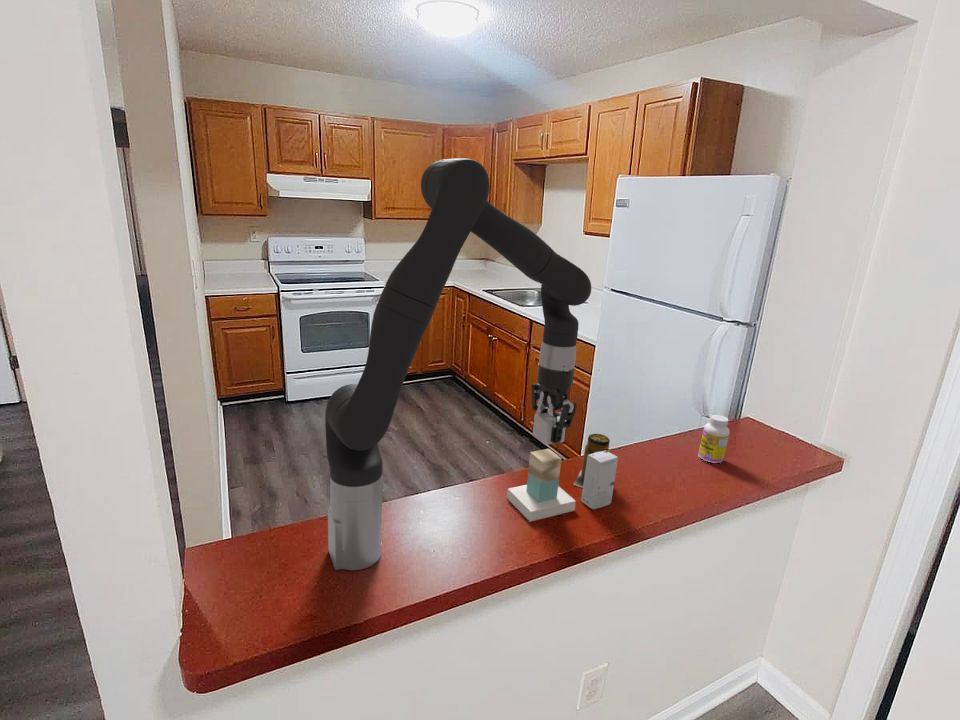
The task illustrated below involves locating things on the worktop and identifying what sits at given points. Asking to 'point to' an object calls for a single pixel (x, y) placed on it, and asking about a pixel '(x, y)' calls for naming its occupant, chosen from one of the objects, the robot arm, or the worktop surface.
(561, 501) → the baseplate
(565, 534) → the worktop surface
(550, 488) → the teal block
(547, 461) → the maple block
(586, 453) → the condiment
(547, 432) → the grey block
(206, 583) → the worktop surface
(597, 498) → the skincare box
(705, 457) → the supplement bottle
